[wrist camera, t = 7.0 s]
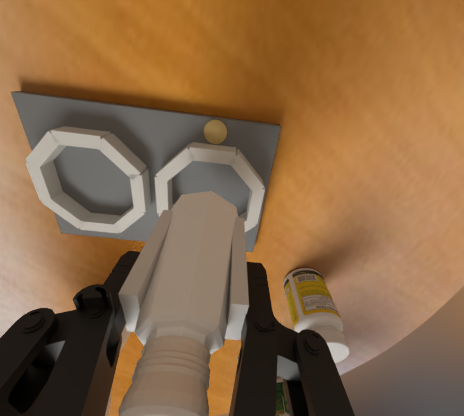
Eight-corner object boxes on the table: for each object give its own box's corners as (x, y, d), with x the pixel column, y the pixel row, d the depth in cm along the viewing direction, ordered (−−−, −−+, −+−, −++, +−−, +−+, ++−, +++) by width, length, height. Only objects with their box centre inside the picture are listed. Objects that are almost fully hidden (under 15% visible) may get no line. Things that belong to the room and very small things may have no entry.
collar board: (66, 228, 23) (51, 242, 21) (20, 91, 16) (-10, 93, 15) (252, 247, 24) (253, 262, 22) (279, 124, 17) (285, 130, 16)
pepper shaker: (230, 255, 18) (226, 456, 8) (164, 241, 17) (78, 443, 8) (250, 198, 15) (276, 403, 6) (171, 180, 14) (53, 376, 5)
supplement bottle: (300, 297, 29) (322, 372, 21) (274, 281, 27) (289, 356, 20) (330, 278, 27) (365, 353, 19) (304, 260, 25) (332, 334, 18)
